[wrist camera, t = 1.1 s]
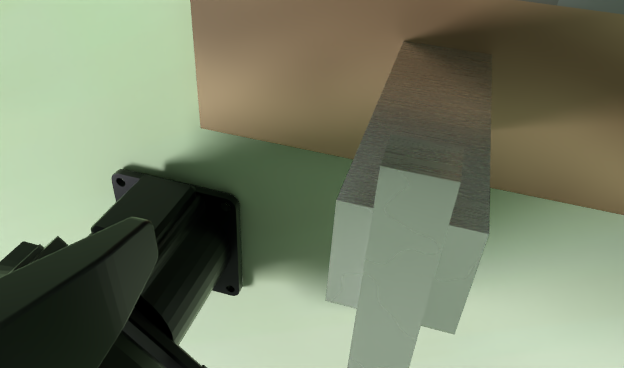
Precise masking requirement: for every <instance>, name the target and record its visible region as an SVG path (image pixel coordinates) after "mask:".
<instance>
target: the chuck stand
mask: <svg viewBox="0 0 624 368" xmlns="http://www.w3.org/2000/svg"><path fill="white" fill-rule="evenodd" d="M190 3H191V15H192V27H193V39H194V52H195V64H196V76H197V89H198V101H199V113H200V125H201V128H203V129H208V130H213V131H218V132H223V133H227V134H232V135H237V136H242V137H247V138H252V139H257V140H261V141H266V142H271V143H276V144H281V145H286V146H291V147H295V148H300V149H305V150H310V151H315V152H320V153H325V154H330V155H334V156H339V157H344V158H349V159H354V157H355V155H356V152H357V150H358V148H359V145H360V143H361V140H362V138H363V136H364V133H365V131H366V129H367V126H368V124H369V122H370V119H371V117H372V115H373V112H374V110H375V107H376V105H377V103H378V100H379V98H380V96H381V93H382V91H383V89H384V86H385V84H386V81H387V79H388V77H389V74H390V72H391V70H392V67H393V65H394V63H395V60H396V58H397V56H398V53H399V51H400V48H401V46H402V44H403V41H408V42H415V43H421V44H428V45H434V46H441V47H447V48H453V49H460V50H466V51H473V52H479V53H485V54H492V90H491V151H490V188H495V189H500V190H505V191H510V192H514V193H519V194H524V195H529V196H534V197H539V198H544V199H548V200H553V201H558V202H563V203H568V204H573V205H578V206H583V207H587V208H592V209H597V210H602V211H607V212H612V213H617V214H621V215H624V0H190Z"/></svg>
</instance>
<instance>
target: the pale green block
mask: <svg viewBox="0 0 624 368" xmlns="http://www.w3.org/2000/svg"><path fill="white" fill-rule="evenodd" d="M491 90H492V54H485V53H479V52H473V51H466V50H460V49H453V48H447V47H441V46H434V45H428V44H421V43H415V42H408V41H403V44H402V46H401V48H400V51H399V53H398V56H397V58H396V60H395V63H394V65H393V67H392V70H391V72H390V74H389V77H388V79H387V81H386V84H385V86H384V89H383V91H382V93H381V96H380V98H379V100H378V103H377V105H376V107H375V110H374V112H373V115H372V117H371V119H370V122H369V124H368V126H367V129H366V131H365V133H364V136H363V138H362V140H361V143H360V145H359V148H358V150H357V152H356V155H355V157H354V159H353V162H352V164H351V166H350V169H349V171H348V173H347V176H346V178H345V181H344V183H343V185H342V188H341V190H340V192H339V195H338V197H337V199H336V207H335V216H334V226H333V235H332V244H331V254H330V263H329V273H328V282H327V291H326V301H329V302H333V303H337V304H341V305H344V306H348V307H352V308H356V309H357V312H356V318H355V324H354V330H353V336H352V343H351V349H350V355H349V361H348V367H347V368H409V366H410V362H411V358H412V355H413V351H414V348H415V344H416V341H417V337H418V333H419V330H420V326H424V327H428V328H432V329H435V330H439V331H443V332H447V333H451V334H455V331H456V329H457V326H458V323H459V320H460V317H461V314H462V311H463V308H464V305H465V303H466V300H467V297H468V294H469V291H470V288H471V285H472V282H473V279H474V276H475V274H476V271H477V268H478V265H479V262H480V259H481V256H482V253H483V250H484V248H485V245H486V242H487V239H488V236H489V212H490V151H491Z"/></svg>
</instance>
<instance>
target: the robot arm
mask: <svg viewBox="0 0 624 368" xmlns="http://www.w3.org/2000/svg"><path fill="white" fill-rule="evenodd" d="M122 179H123V180H124V181H123V180H122ZM112 184H113V189H114V194H115V198H116V203H115V204H114V205H113V206H112V207H111V208H110V209H109V210H108V211H107V212H106V213H105V214H104V215H103V216H102V217H101V218H100V219H99V220H98V221H97V222H96V223H95V224H94V225H93V226H92V227H91V232H92V233H91V234H90V235H89V236H88V237H86V238H84V239H82V240H80V241H78V242H75V243H73V244H71V245H69V246H68V244H66V243H65V242H64V241H63V240H62V239H61V238H60V237H59V236H57V237H56V238H55V239H54V240H53V241H51V242H50V243H49V244H48V245H47V246H46V247H43V246H42V245H35V244H32V243H28V242H24V241H23V242H22V243H21V244H20V245H18V246H17V247H16V248H15V249H14V250H13V251H12V252H11V253H9V254H8V255H7V256H6V257H5V258H4V259H3V260H1V261H0V368H207V367H206V366H205V365H202V366H201V365H200V364H199V363H198V362H197V361H196V360H194V359H193V358H192V357H191V356H190V355H189V354H188V353H187V352H185V351H184V350H183V349H182V348H181V347H180V346H179V344H180V342H181V340H182V339H183V337H184V336H185V334H186V332H187V331H188V329H189V327H190V326H191V324H192V322H193V321H194V319H195V317H196V316H197V314H198V313H199V311H200V309H201V308H202V306H203V304H204V303H205V301H206V299H207V298H208V296H209V294H210V293H211V291H212V290H213V291H217V292H220V293H224V294H228V295H232V296H235V295H238V294H239V292H240V290H241V288H242V266H241V236H240V207H239V201H238V200H237V198H236V197H235V196H233V195H231V194H229V193H224V192H220V191H216V190H211V189H207V188H203V187H198V186H194V185H189V184H185V183H181V182H176V181H172V180H168V179H163V178H159V177H155V176H150V175H146V174H142V173H137V172H133V171H129V170H124V169H120V170H118V171H117V172H116V173H114V174H113V176H112ZM225 203H227V204H229V205H230V206H228V205H226V204H225Z"/></svg>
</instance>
